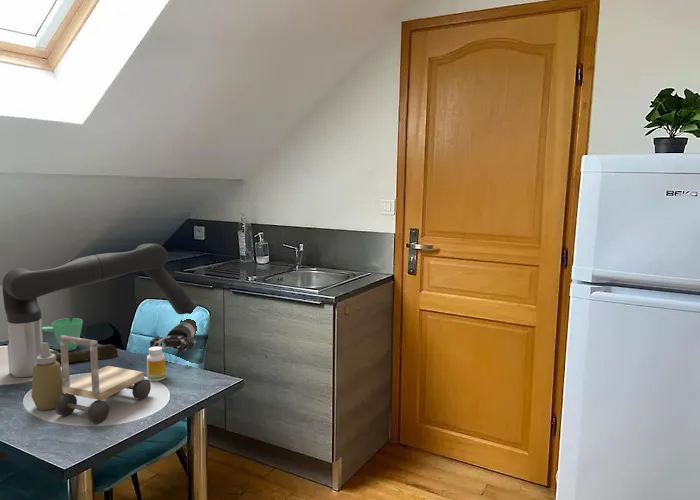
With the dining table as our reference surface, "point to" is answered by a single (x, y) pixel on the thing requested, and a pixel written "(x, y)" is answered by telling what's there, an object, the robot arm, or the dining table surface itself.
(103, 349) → the hand tool
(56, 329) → the mug
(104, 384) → the trolley
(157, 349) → the supplement bottle
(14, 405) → the dining table surface
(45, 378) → the squeeze bottle
